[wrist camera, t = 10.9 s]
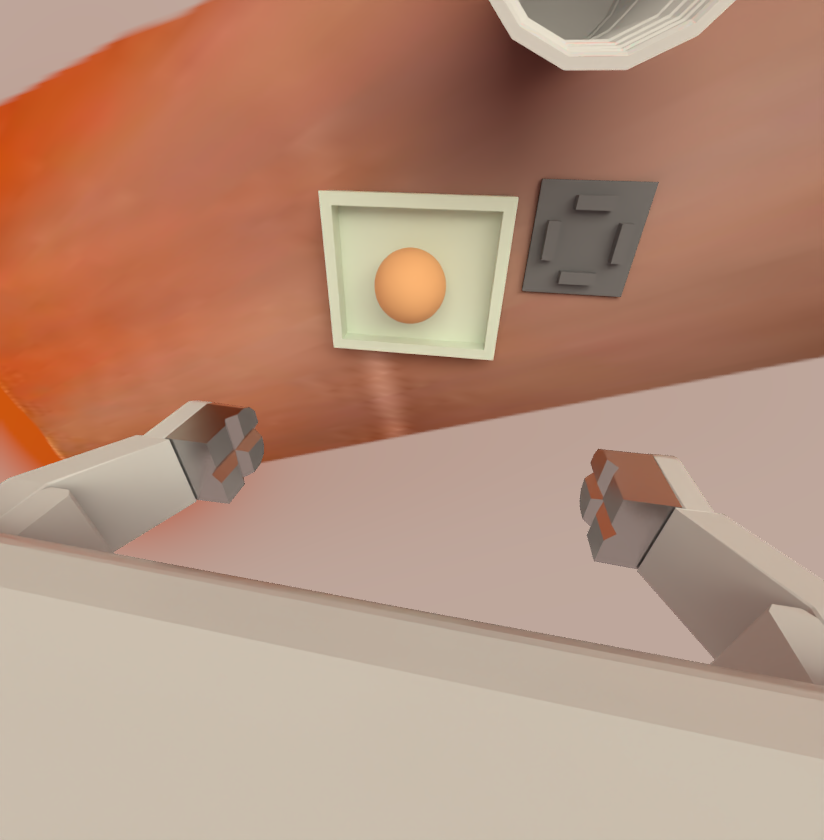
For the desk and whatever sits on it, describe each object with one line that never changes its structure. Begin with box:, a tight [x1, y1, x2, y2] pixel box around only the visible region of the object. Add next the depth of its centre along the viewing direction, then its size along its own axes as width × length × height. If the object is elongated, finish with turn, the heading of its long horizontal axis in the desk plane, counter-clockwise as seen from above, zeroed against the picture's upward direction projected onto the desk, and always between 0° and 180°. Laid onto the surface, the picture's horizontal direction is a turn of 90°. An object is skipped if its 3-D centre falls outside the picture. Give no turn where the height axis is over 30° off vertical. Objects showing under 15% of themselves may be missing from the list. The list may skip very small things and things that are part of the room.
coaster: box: [522, 179, 659, 297], centre depth 25 cm, size 7×7×1 cm
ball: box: [374, 247, 446, 324], centre depth 26 cm, size 5×5×5 cm
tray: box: [318, 190, 519, 360], centre depth 27 cm, size 13×11×2 cm
